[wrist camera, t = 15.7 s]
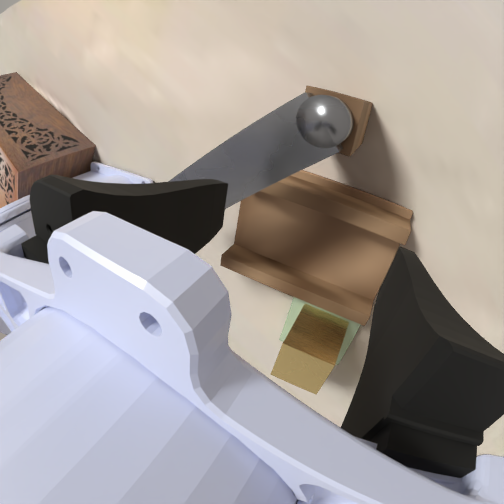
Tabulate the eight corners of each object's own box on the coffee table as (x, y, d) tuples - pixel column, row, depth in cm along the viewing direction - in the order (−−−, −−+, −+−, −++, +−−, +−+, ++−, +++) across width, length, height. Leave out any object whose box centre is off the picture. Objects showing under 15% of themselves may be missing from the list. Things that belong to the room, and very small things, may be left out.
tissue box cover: (97, 145, 29) (18, 172, 21) (80, 235, 38) (22, 268, 30) (17, 72, 31) (-36, 84, 23) (8, 146, 39) (-37, 164, 31)
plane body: (234, 256, 27) (197, 291, 22) (265, 76, 19) (222, 71, 14) (366, 310, 23) (353, 360, 19) (440, 128, 15) (457, 136, 11)
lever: (152, 197, 20) (140, 203, 19) (334, 81, 12) (328, 79, 11) (174, 235, 21) (163, 242, 20) (365, 138, 13) (363, 140, 12)
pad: (281, 335, 29) (279, 340, 28) (297, 287, 25) (295, 291, 25) (339, 360, 27) (337, 364, 26) (364, 315, 24) (363, 319, 23)
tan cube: (292, 335, 27) (270, 374, 23) (304, 303, 25) (282, 343, 21) (332, 352, 26) (316, 394, 22) (349, 321, 24) (334, 365, 20)
